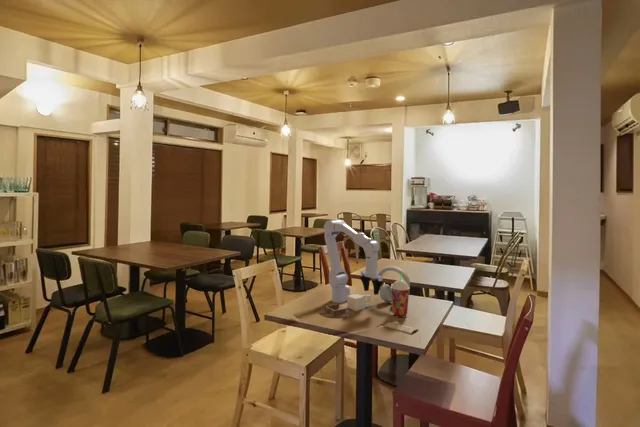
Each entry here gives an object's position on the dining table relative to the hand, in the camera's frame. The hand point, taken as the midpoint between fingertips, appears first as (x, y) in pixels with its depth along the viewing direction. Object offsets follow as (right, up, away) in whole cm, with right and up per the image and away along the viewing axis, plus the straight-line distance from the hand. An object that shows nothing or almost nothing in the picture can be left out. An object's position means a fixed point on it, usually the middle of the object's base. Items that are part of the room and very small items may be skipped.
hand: (371, 292), depth 190 cm
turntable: (-17, -10, -4) cm, 20 cm away
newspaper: (+7, -12, -18) cm, 23 cm away
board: (-13, -10, -1) cm, 16 cm away
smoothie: (+13, -10, -5) cm, 17 cm away
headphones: (+13, -9, +12) cm, 20 cm away
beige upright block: (-5, -8, +3) cm, 10 cm away
